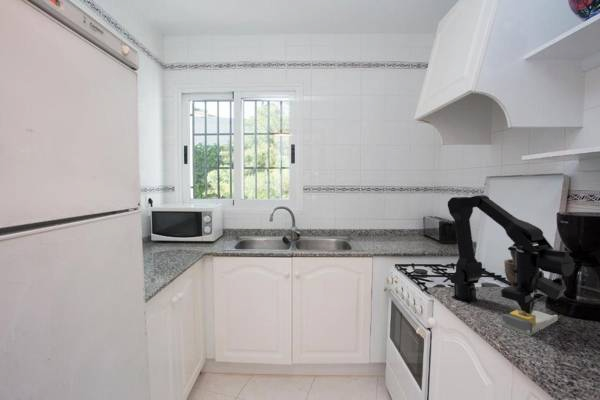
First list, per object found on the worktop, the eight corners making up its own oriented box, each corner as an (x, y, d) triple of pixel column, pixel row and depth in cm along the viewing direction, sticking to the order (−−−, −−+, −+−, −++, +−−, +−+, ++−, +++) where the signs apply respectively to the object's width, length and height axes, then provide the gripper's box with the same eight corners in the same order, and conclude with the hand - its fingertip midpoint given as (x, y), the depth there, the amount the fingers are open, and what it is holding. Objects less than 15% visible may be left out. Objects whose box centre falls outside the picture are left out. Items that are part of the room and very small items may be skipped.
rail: (502, 325, 85) (502, 314, 85) (530, 312, 94) (530, 302, 94) (529, 336, 79) (529, 324, 79) (557, 320, 88) (557, 309, 88)
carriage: (509, 322, 85) (509, 310, 85) (516, 319, 87) (516, 307, 87) (529, 329, 81) (529, 316, 81) (535, 325, 83) (535, 313, 83)
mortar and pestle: (538, 302, 101) (537, 248, 100) (509, 299, 105) (508, 247, 104) (528, 292, 111) (528, 242, 110) (502, 289, 115) (502, 241, 114)
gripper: (546, 279, 74) (546, 336, 74) (575, 268, 82) (575, 319, 83) (499, 269, 83) (500, 320, 84) (530, 260, 92) (530, 306, 93)
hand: (527, 316), depth 86 cm, fingers closed
